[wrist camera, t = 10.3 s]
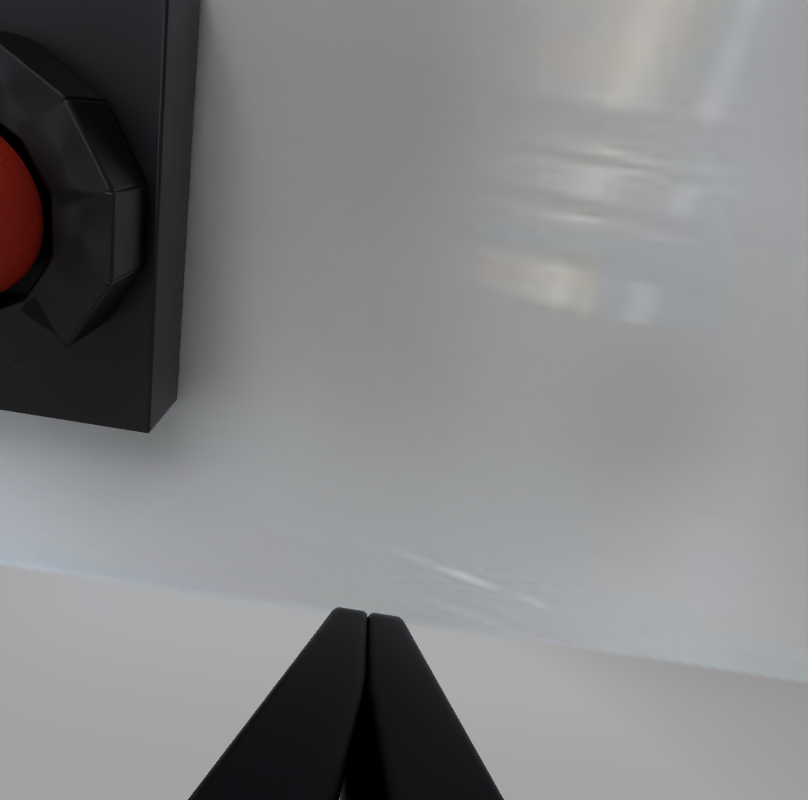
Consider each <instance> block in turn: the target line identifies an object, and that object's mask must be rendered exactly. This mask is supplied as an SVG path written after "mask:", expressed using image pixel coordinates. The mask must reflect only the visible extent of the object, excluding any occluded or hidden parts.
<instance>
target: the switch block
mask: <svg viewBox="0 0 808 800" xmlns="http://www.w3.org/2000/svg"><path fill="white" fill-rule="evenodd" d="M199 7H200V0H0V136H1V137H2V138H3V139H5V140H6V142H7V143H8V144H9V145H10V146H11V147H12V148H13V149H14V150H15V151H16V153H17V154H18V155H19V156H20V158H21V159H22V160H23V162H24V163H25V165H26V167H27V168H28V170H29V172H30V173H31V175H32V178H33V180H34V182H35V184H36V186H37V189H38V192H39V195H40V198H41V203H42V208H43V216H44V234H43V240H42V245H41V248H40V251H39V254H38V257H37V259H36V261H35V263H34V264H33V266H32V268H31V269H30V270H29V272H28V273H27V274H26V276H24V277H23V278H22V279H21V280H20V281H19V282H18V283H17V284H15V285H14V286H12V287H11V288H9V289H7V290H5V291H3V292H1V293H0V410H6V411H12V412H19V413H25V414H31V415H37V416H44V417H50V418H56V419H63V420H69V421H75V422H81V423H88V424H94V425H100V426H107V427H113V428H119V429H125V430H132V431H138V432H144V433H149V432H150V431H151V430H152V429H153V427H154V426H155V425H156V424H157V423H158V421H159V420H160V419H161V418H162V417H163V415H164V414H165V413H166V412H167V411H168V409H169V408H170V407H171V406H172V405H173V403H174V402H175V401H176V399H177V382H178V365H179V348H180V331H181V314H182V297H183V280H184V263H185V246H186V229H187V212H188V194H189V177H190V160H191V143H192V126H193V109H194V92H195V75H196V58H197V41H198V24H199Z"/></svg>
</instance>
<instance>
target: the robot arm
mask: <svg viewBox="0 0 808 800" xmlns="http://www.w3.org/2000/svg"><path fill="white" fill-rule="evenodd" d="M339 798H340V800H504V799H503V797H502V796H501V794H500V792H499V790H498V789H497V787H496V785H495V783H494V782H493V780H492V778H491V776H490V774H489V772H488V771H487V769H486V767H485V765H484V764H483V762H482V760H481V758H480V756H479V755H478V753H477V751H476V749H475V748H474V746H473V744H472V742H471V741H470V739H469V737H468V735H467V733H466V732H465V730H464V728H463V726H462V724H461V723H460V721H459V719H458V718H457V716H456V714H455V712H454V710H453V708H452V707H451V705H450V703H449V701H448V699H447V698H446V696H445V694H444V692H443V691H442V689H441V687H440V685H439V683H438V682H437V680H436V678H435V676H434V675H433V673H432V671H431V669H430V667H429V666H428V664H427V662H426V660H425V659H424V657H423V655H422V653H421V651H420V650H419V648H418V646H417V644H416V643H415V641H414V639H413V637H412V636H411V634H410V632H409V630H408V628H407V626H406V625H405V623H404V621H403V620H402V619H401V618H400V617H397V616H391V615H385V614H379V613H371V614H370V615H369V616H368V617H367V614H366V613H365V612H364V611H360V610H354V609H348V608H341V607H338V608H335V609H334V610H333V611H332V612H331V613H330V615H329V616H328V617H327V619H326V620H325V621H324V623H323V624H322V625H321V626H320V628H319V629H318V630H317V632H316V633H315V634H314V636H313V637H312V638H311V639H310V641H309V642H308V643H307V645H306V646H305V647H304V649H303V650H302V651H301V653H300V654H299V655H298V657H297V658H296V659H295V660H294V662H293V663H292V664H291V666H290V667H289V668H288V670H287V671H286V672H285V674H284V675H283V676H282V677H281V679H280V680H279V681H278V683H277V684H276V685H275V687H274V688H273V689H272V690H271V692H270V693H269V695H268V696H267V697H266V699H265V700H264V701H263V702H262V704H261V705H260V706H259V707H258V709H257V710H256V711H255V713H254V714H253V715H252V717H251V718H250V719H249V721H248V722H247V723H246V725H245V726H244V727H243V728H242V730H241V731H240V732H239V734H238V735H237V736H236V738H235V739H234V740H233V742H232V743H231V744H230V745H229V747H228V748H227V749H226V751H225V752H224V753H223V755H222V756H221V757H220V758H219V760H218V761H217V762H216V764H215V765H214V767H213V768H212V769H211V770H210V772H209V773H208V775H206V777H205V778H204V780H203V781H202V782H201V783H200V785H199V786H198V787H197V789H196V790H195V791H194V792H193V794H192V795H191V797H190V798H189V799H188V800H339Z"/></svg>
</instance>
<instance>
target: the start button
mask: <svg viewBox="0 0 808 800" xmlns="http://www.w3.org/2000/svg"><path fill="white" fill-rule="evenodd" d="M43 234H44V216H43V208H42V203H41V198H40V195H39V192H38V189H37V186H36V184H35V182H34V180H33V178H32V175H31V173H30V172H29V170H28V168H27V167H26V165H25V163H24V162H23V160H22V159H21V158H20V156H19V155H18V154H17V153H16V151H15V150H14V149H13V148H12V147H11V146H10V145H9V144H8V143H7V142H6V140H5V139H3V138H2V137H1V136H0V293H1V292H3V291H5V290H7V289H9V288H11V287H12V286H14V285H15V284H17V283H18V282H19V281H20V280H21V279H22V278H23V277H24V276H26V274H27V273H28V272H29V270H30V269H31V268H32V266H33V264H34V263H35V261H36V259H37V257H38V254H39V251H40V248H41V245H42V240H43Z"/></svg>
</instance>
